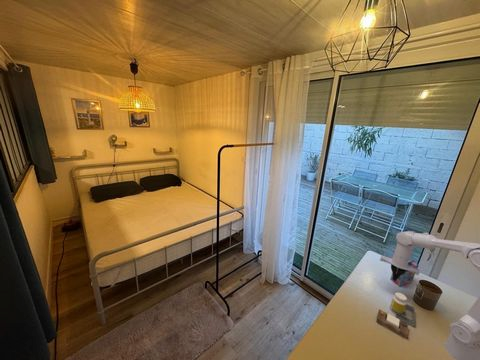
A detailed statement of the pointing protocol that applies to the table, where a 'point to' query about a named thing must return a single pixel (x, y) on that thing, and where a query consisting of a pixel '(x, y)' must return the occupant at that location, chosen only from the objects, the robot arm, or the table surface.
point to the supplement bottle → (398, 303)
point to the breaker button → (392, 320)
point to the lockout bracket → (405, 319)
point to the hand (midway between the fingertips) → (394, 279)
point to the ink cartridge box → (405, 276)
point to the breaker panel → (402, 325)
